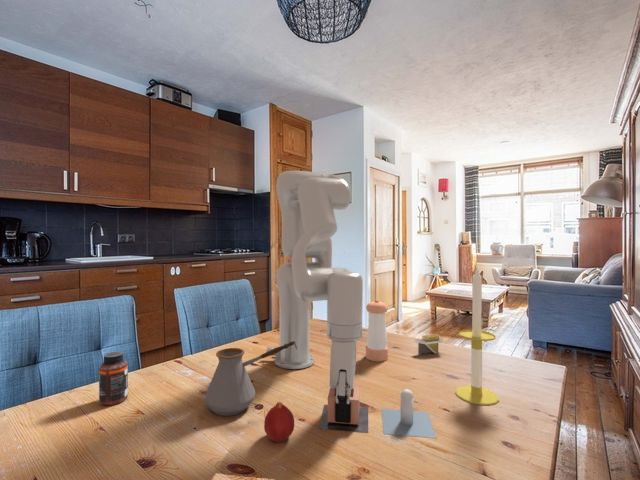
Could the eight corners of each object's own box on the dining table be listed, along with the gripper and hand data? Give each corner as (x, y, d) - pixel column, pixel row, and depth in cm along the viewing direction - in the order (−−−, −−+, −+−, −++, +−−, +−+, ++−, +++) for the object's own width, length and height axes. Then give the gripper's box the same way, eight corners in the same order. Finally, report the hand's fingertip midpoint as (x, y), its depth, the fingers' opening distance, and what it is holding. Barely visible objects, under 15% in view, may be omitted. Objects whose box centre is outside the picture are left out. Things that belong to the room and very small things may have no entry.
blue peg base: (383, 438, 67) (383, 399, 67) (381, 413, 77) (381, 378, 77) (436, 443, 65) (436, 402, 65) (427, 416, 75) (427, 381, 75)
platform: (463, 358, 113) (464, 338, 113) (417, 364, 108) (417, 343, 108) (440, 347, 125) (441, 329, 125) (397, 351, 119) (397, 333, 119)
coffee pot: (198, 421, 73) (198, 351, 73) (210, 396, 84) (210, 336, 84) (298, 416, 75) (298, 349, 75) (296, 393, 86) (296, 334, 86)
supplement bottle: (133, 397, 84) (133, 351, 84) (111, 408, 79) (111, 359, 78) (115, 393, 86) (115, 348, 86) (93, 404, 81) (93, 356, 80)
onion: (265, 434, 68) (265, 394, 68) (294, 433, 69) (294, 393, 69) (262, 453, 62) (262, 409, 62) (294, 451, 63) (294, 408, 63)
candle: (470, 406, 80) (470, 268, 79) (447, 388, 89) (448, 264, 89) (508, 403, 81) (509, 267, 81) (482, 385, 91) (482, 264, 91)
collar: (327, 422, 70) (327, 398, 70) (330, 406, 77) (330, 384, 77) (358, 424, 69) (358, 400, 69) (359, 408, 76) (359, 386, 76)
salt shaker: (391, 356, 113) (391, 299, 113) (382, 363, 107) (383, 302, 107) (371, 352, 117) (371, 297, 117) (361, 358, 111) (362, 300, 111)
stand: (318, 433, 69) (318, 399, 68) (324, 409, 78) (324, 378, 78) (368, 437, 67) (368, 402, 67) (368, 412, 77) (368, 381, 77)
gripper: (331, 319, 82) (330, 393, 82) (322, 341, 65) (321, 434, 65) (362, 320, 81) (362, 395, 81) (361, 343, 64) (360, 438, 64)
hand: (344, 412), depth 73 cm, fingers closed on collar, 6 cm apart
